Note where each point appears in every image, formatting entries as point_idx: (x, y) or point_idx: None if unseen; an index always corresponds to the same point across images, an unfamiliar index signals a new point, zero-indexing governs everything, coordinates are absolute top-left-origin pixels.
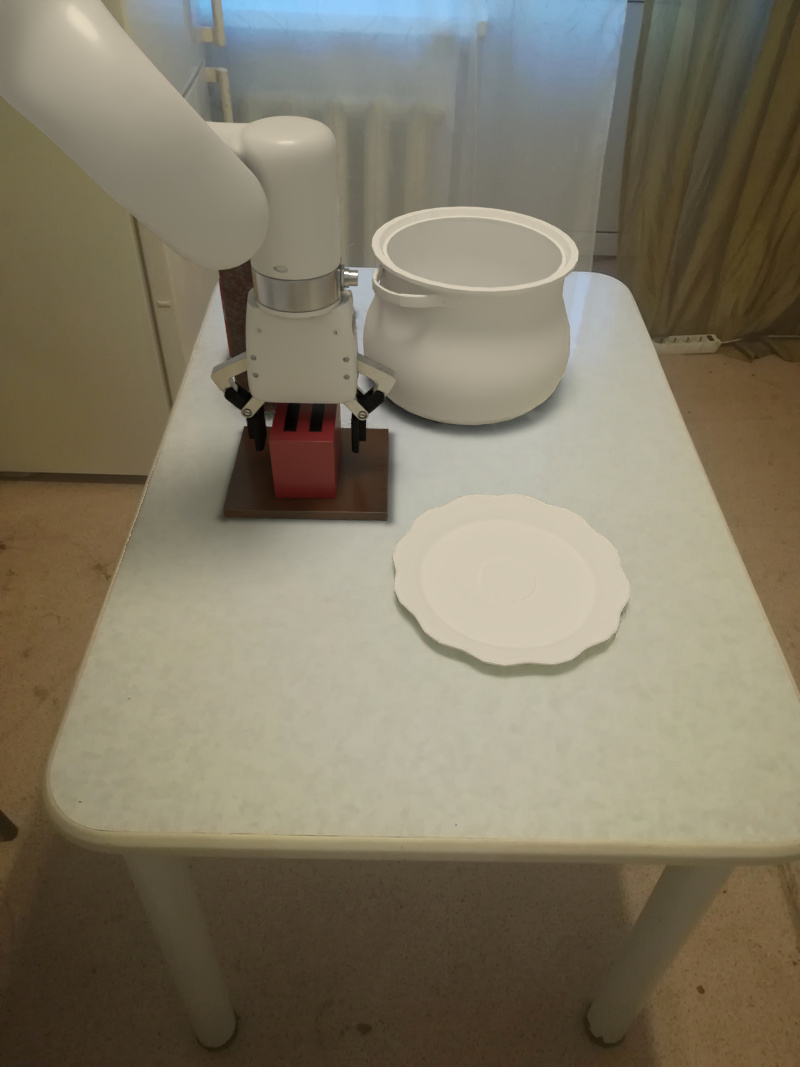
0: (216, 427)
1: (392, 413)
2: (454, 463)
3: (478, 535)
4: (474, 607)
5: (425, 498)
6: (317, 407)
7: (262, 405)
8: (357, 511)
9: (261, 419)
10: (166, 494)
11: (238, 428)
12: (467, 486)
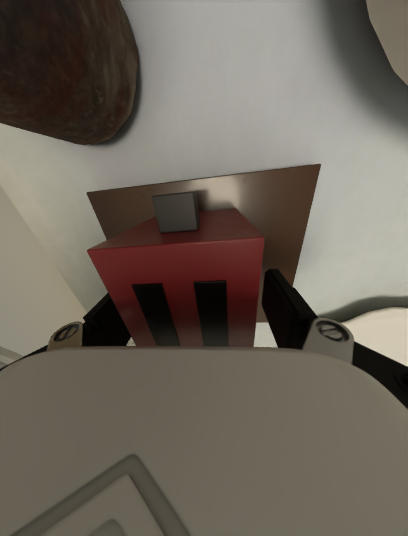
0: (51, 181)
1: (341, 62)
2: (395, 227)
3: (361, 330)
4: None
5: (326, 289)
6: (213, 338)
7: (102, 323)
8: (256, 322)
9: (121, 331)
10: (87, 297)
11: (80, 179)
12: (387, 269)
